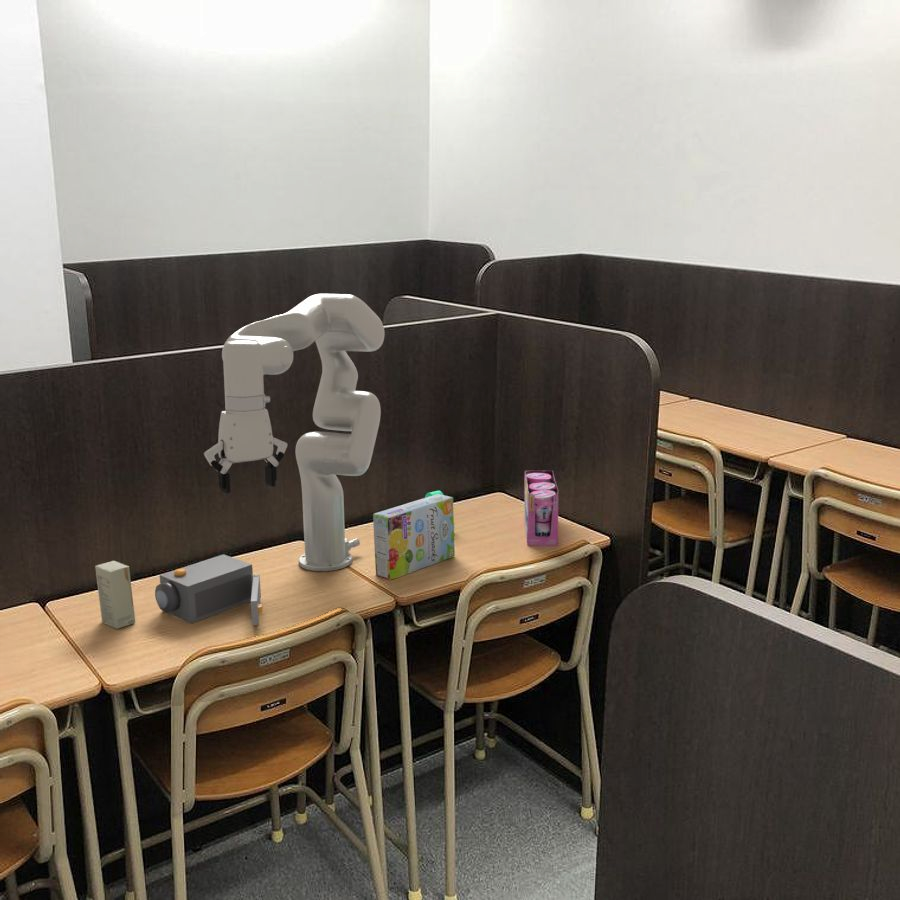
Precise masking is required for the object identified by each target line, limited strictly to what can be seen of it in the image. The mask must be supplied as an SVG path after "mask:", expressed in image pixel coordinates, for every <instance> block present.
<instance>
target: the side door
mask: <svg viewBox="0 0 900 900" xmlns="http://www.w3.org/2000/svg"><path fill="white" fill-rule="evenodd" d="M260 577H261V576H260V574H258V573H257V574H253V585H252V594H251V601H250V608H251V609H250V610H251V624H252V626H257V625H259V623H260V622H259V621H260V616H261V615H263V604H262V603H261V598H262V594H261V592H262V591H261V589H262V588H261V578H260Z"/></svg>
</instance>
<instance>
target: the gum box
mask: <svg viewBox="0 0 900 900" xmlns="http://www.w3.org/2000/svg"><path fill="white" fill-rule="evenodd" d="M554 474H555V473H554V470H547V469H546V470H543V469H542V470H541V469H540V470H530V469H529V470H524V529H525V537H526V545H527V546H546V547H547V546H554V547H556V546H559V545H558V544H559V488H558V485H557V482H556V478H555V475H554Z"/></svg>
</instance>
